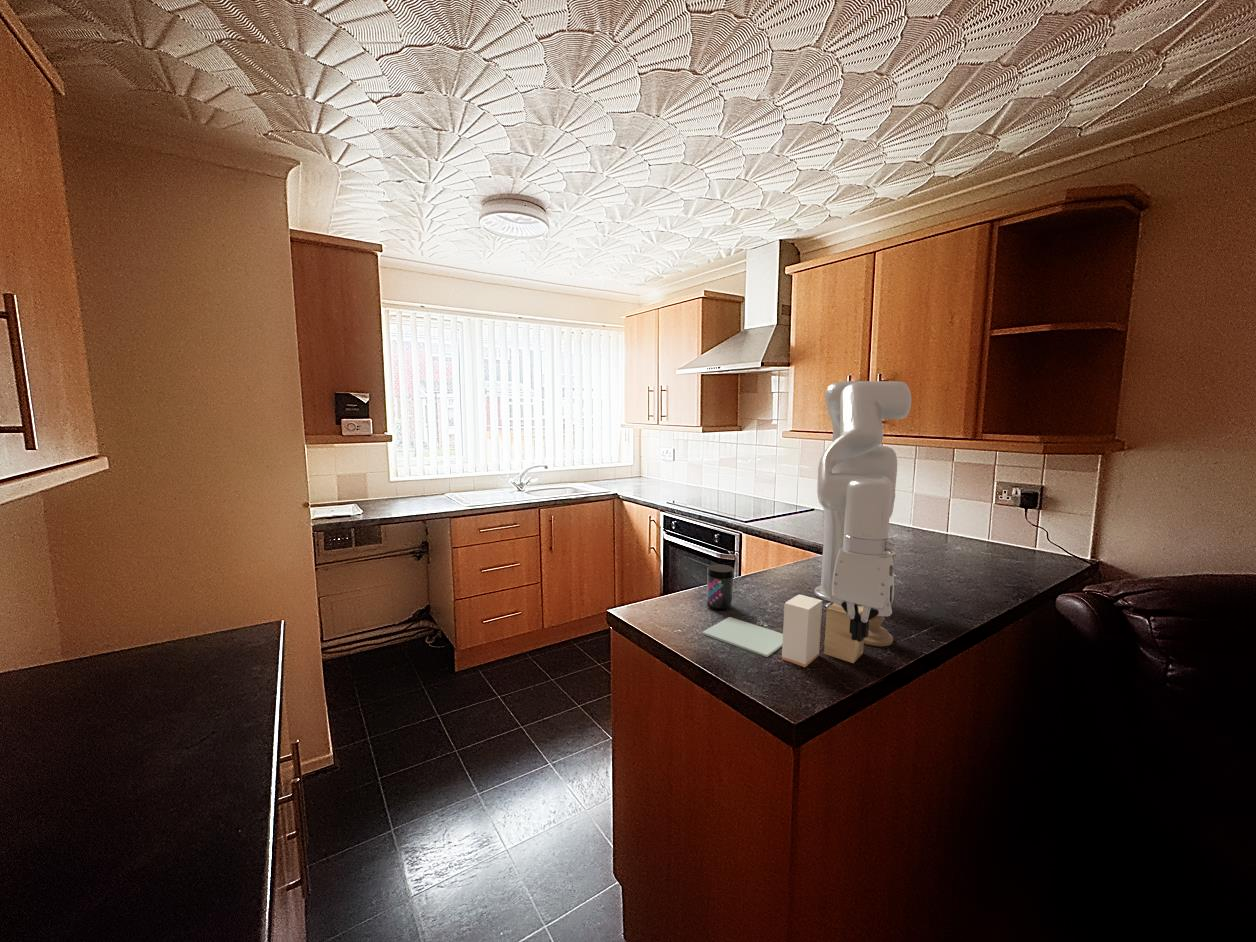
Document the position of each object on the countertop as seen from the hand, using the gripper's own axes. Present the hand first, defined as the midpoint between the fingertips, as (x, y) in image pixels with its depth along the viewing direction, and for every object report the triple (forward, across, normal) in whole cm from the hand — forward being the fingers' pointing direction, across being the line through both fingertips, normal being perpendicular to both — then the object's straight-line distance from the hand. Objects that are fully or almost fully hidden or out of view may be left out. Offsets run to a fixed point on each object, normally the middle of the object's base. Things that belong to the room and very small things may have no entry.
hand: (858, 638), depth 97 cm
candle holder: (+8, +3, -20) cm, 22 cm away
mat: (+8, +24, -1) cm, 25 cm away
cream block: (+8, +11, 0) cm, 13 cm away
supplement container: (+8, +38, -12) cm, 41 cm away
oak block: (+8, +5, -8) cm, 12 cm away
